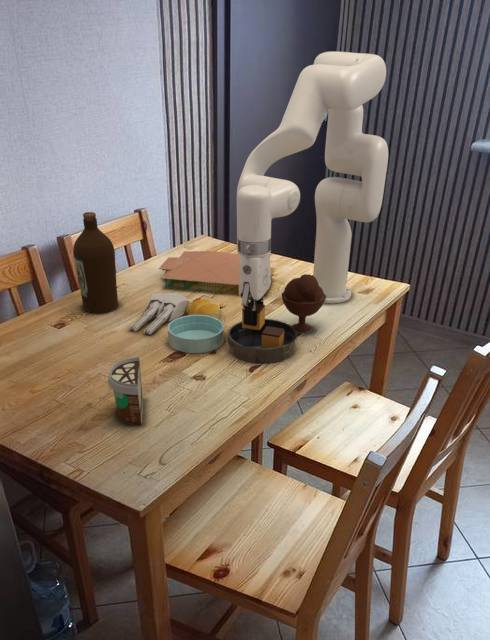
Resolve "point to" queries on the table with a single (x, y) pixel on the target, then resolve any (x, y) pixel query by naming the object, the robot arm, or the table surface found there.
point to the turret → (161, 310)
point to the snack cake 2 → (272, 337)
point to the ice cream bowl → (303, 299)
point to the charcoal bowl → (249, 343)
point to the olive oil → (95, 267)
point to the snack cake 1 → (260, 317)
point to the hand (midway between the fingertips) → (253, 319)
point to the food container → (127, 390)
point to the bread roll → (204, 308)
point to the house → (203, 268)
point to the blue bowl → (195, 333)
